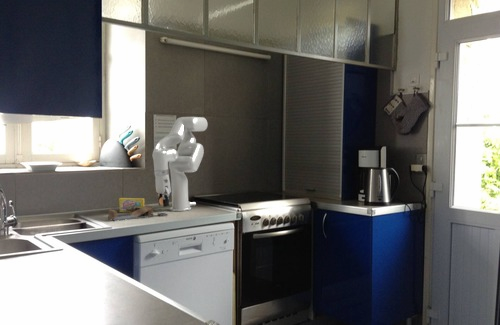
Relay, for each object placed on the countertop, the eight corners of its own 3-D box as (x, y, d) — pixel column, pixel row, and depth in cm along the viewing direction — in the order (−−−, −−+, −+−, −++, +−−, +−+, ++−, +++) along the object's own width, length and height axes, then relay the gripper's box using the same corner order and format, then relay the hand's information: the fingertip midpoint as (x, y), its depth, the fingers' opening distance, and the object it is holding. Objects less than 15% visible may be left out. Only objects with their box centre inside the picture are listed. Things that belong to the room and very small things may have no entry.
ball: (166, 204, 261) (165, 195, 260) (170, 205, 257) (169, 196, 256) (157, 206, 258) (157, 197, 257) (161, 207, 254) (161, 198, 253)
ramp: (146, 214, 262) (146, 205, 261) (153, 216, 254) (153, 206, 254) (108, 218, 249) (108, 209, 249) (114, 221, 242) (113, 211, 241)
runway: (147, 214, 262) (147, 211, 262) (153, 216, 254) (153, 212, 254) (108, 218, 249) (108, 215, 249) (114, 221, 242) (114, 217, 242)
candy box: (119, 212, 272) (118, 198, 272) (121, 211, 274) (120, 197, 274) (143, 213, 267) (142, 198, 267) (145, 212, 269) (144, 198, 269)
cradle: (163, 214, 259) (163, 212, 259) (167, 215, 255) (167, 213, 255) (157, 215, 257) (157, 213, 257) (161, 216, 253) (161, 214, 253)
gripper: (174, 173, 250) (177, 206, 252) (161, 170, 264) (163, 202, 266) (161, 175, 246) (164, 209, 248) (148, 172, 260) (151, 204, 262)
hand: (163, 205), depth 257 cm, fingers closed on ball, 5 cm apart
